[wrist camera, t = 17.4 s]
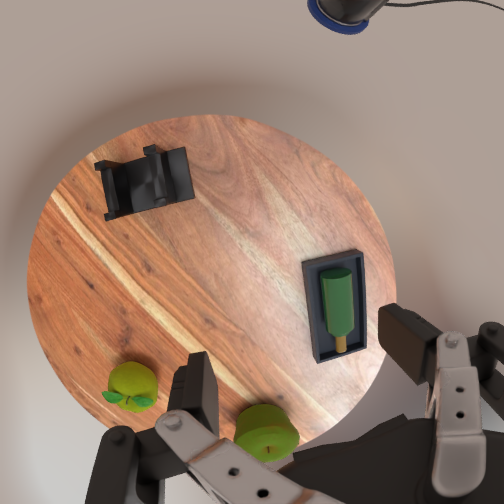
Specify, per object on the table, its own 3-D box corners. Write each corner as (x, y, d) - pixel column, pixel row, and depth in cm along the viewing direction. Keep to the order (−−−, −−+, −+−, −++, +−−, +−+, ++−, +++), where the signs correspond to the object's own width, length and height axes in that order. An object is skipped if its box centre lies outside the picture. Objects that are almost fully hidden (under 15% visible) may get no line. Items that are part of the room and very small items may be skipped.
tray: (301, 261, 46) (305, 266, 44) (356, 249, 47) (363, 252, 44) (313, 356, 51) (317, 364, 48) (361, 341, 51) (366, 348, 49)
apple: (225, 428, 53) (227, 467, 42) (241, 391, 51) (246, 432, 40) (277, 434, 55) (287, 471, 44) (298, 399, 53) (312, 437, 42)
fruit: (115, 347, 46) (97, 378, 36) (162, 358, 47) (152, 392, 38) (117, 383, 48) (103, 415, 38) (161, 393, 49) (153, 428, 40)
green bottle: (318, 270, 47) (322, 281, 42) (347, 265, 46) (355, 275, 41) (325, 344, 50) (329, 360, 45) (352, 339, 49) (357, 355, 44)
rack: (185, 147, 40) (176, 137, 31) (195, 198, 42) (188, 200, 33) (102, 171, 39) (77, 168, 31) (112, 219, 41) (88, 227, 32)
